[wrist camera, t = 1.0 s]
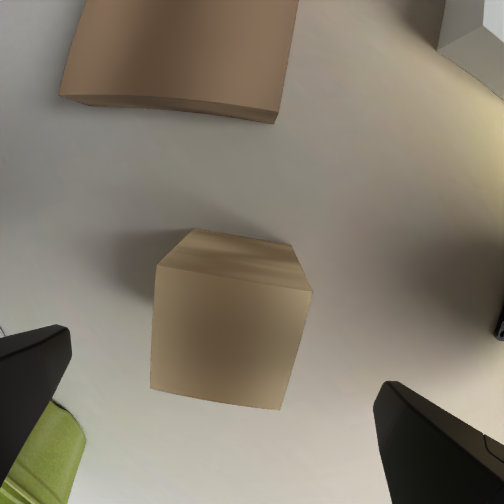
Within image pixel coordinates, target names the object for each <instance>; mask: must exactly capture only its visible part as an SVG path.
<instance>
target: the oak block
mask: <svg viewBox="0 0 504 504" xmlns="http://www.w3.org/2000/svg"><path fill="white" fill-rule="evenodd" d="M312 294H313V291H312V289H311V286H310V284H309V282H308V280H307V278H306V276H305V274H304V272H303V269H302V267H301V265H300V263H299V261H298V259H297V257H296V255H295V253H294V250H293V248H292V246H291V245H288V244H282V243H276V242H270V241H265V240H259V239H253V238H247V237H242V236H236V235H230V234H224V233H218V232H212V231H206V230H200V229H193V230H192V231H191V232H190V233H189V234H188V235H186V236H185V237H184V238H183V239H182V240H181V241H180V242H179V243H178V244H177V245H176V246H175V247H174V248H173V249H172V250H171V251H170V252H169V253H168V254H167V255H166V256H165V257H164V258H163V259H162V260H161V261H160V262H159V263H158V264H157V265H156V276H155V289H154V303H153V319H152V340H151V372H150V389H155V390H159V391H163V392H168V393H172V394H177V395H182V396H187V397H192V398H197V399H202V400H208V401H214V402H220V403H226V404H233V405H239V406H247V407H254V408H262V409H271V410H280V408H281V405H282V402H283V399H284V395H285V392H286V389H287V385H288V382H289V379H290V375H291V372H292V368H293V365H294V361H295V358H296V354H297V351H298V347H299V344H300V340H301V336H302V332H303V329H304V325H305V321H306V317H307V314H308V310H309V306H310V302H311V298H312Z"/></svg>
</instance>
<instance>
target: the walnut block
mask: <svg viewBox="0 0 504 504" xmlns="http://www.w3.org/2000/svg"><path fill="white" fill-rule="evenodd" d="M298 2H299V0H87V1H86V4H85V6H84V9H83V12H82V14H81V17H80V20H79V23H78V26H77V29H76V32H75V35H74V38H73V41H72V44H71V48H70V51H69V55H68V58H67V62H66V66H65V69H64V73H63V77H62V81H61V86H60V90H59V94H58V95H59V96H62V97H65V98H68V99H71V100H74V101H77V102H80V103H83V104H86V105H89V106H114V107H136V108H152V109H164V110H176V111H186V112H195V113H204V114H212V115H219V116H227V117H233V118H240V119H247V120H253V121H259V122H264V123H270V124H274V122H275V120H276V118H277V115H278V113H279V108H280V103H281V97H282V91H283V86H284V80H285V75H286V69H287V64H288V58H289V52H290V47H291V41H292V36H293V30H294V24H295V19H296V13H297V7H298Z"/></svg>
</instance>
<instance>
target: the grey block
mask: <svg viewBox="0 0 504 504" xmlns="http://www.w3.org/2000/svg"><path fill="white" fill-rule="evenodd" d="M436 51H437V52H438V53H440V54H441V55H443V56H445V57H446V58H448V59H449V60H451V61H452V62H454V63H455V64H456V65H458V66H459V67H461V68H462V69H464V70H465V71H466V72H468V73H469V74H470V75H472V76H473V77H475V78H476V79H477V80H479V81H480V82H481V83H482V84H484V85H485V86H486V87H488V88H489V89H490V90H491V91H493V92H494V93H495V94H496V95H497V96H499V97H500V98H501V99H502V100H503V101H504V0H446V3H445V9H444V15H443V20H442V26H441V31H440V36H439V41H438V46H437V50H436Z"/></svg>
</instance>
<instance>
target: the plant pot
mask: <svg viewBox="0 0 504 504" xmlns="http://www.w3.org/2000/svg"><path fill="white" fill-rule="evenodd" d="M85 443H86V439H85V435H84V433H83V431H82V429H81V427H80V425H79V424H78V423H77V421H76V420H75V419H74V418H73V417H72V415H71V414H70V413H69V412H67V411H66V410H63V409H61V408H59V407H57V406H56V405H55V404H54V403H53V402H52V401H51V400H50V402H49V404H48V405H47V407H46V409H45V410H44V412H43V414H42V415H41V417H40V419H39V420H38V422H37V424H36V425H35V427H34V429H33V430H32V432H31V434H30V435H29V437H28V439H27V441H26V442H25V444H24V446H23V448H22V449H21V451H20V453H19V455H18V456H17V458H16V460H15V462H14V464H13V466H12V467H11V469H10V471H9V473H8V475H7V477H6V479H5V481H4V482H3V484H2V486H1V488H0V504H67V503H68V499H69V495H70V492H71V488H72V485H73V481H74V478H75V475H76V472H77V469H78V466H79V463H80V460H81V457H82V454H83V451H84V448H85Z"/></svg>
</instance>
